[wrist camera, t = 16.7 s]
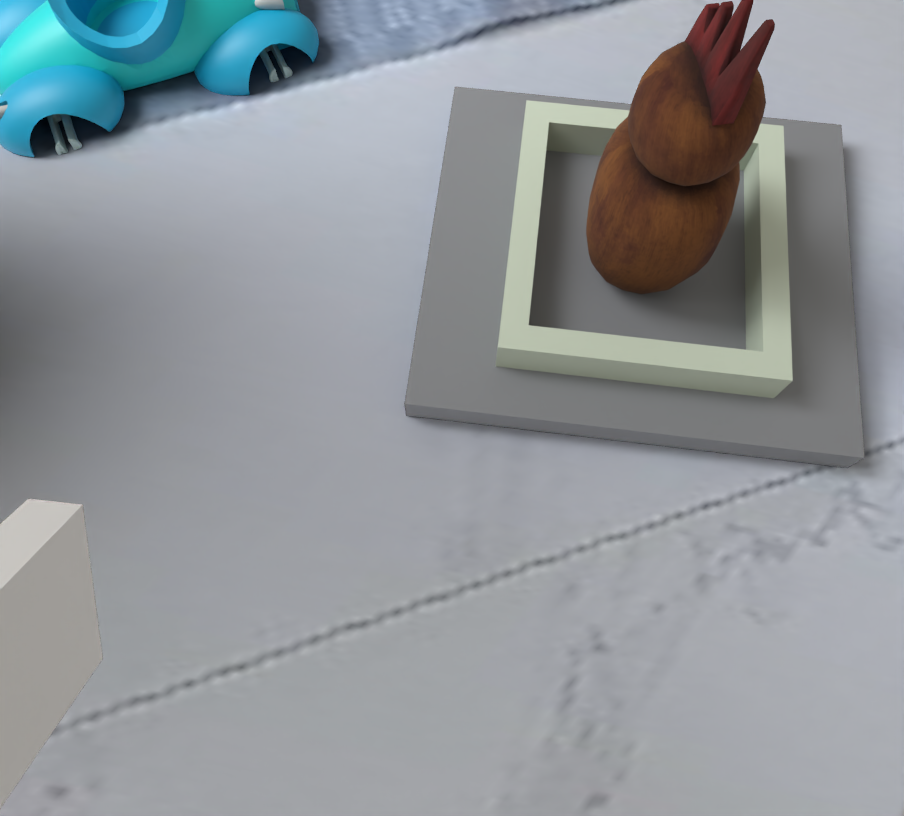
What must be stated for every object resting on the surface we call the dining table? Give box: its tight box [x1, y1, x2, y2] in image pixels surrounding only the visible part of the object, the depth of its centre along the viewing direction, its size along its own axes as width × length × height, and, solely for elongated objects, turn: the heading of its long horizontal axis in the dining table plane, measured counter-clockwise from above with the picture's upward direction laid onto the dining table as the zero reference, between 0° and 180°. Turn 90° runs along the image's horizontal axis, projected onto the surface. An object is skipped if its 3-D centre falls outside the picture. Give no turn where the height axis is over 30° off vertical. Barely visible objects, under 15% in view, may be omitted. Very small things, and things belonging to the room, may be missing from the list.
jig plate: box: [404, 87, 864, 468], centre depth 36 cm, size 20×18×4 cm
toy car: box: [0, 0, 319, 157], centre depth 40 cm, size 11×18×7 cm, turn 114°
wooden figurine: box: [586, 0, 775, 294], centre depth 29 cm, size 7×6×15 cm
